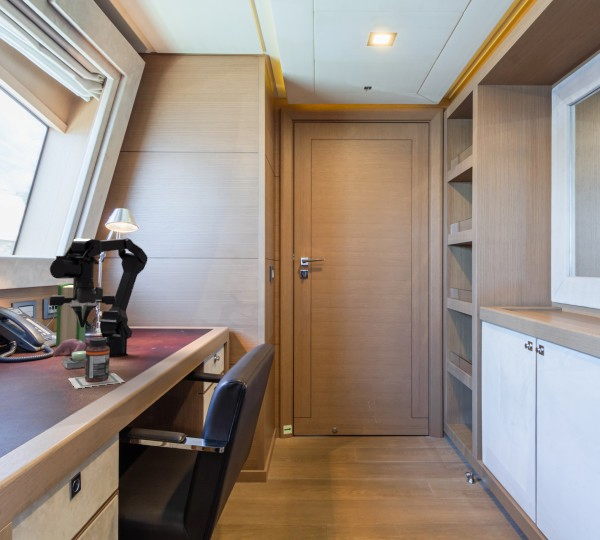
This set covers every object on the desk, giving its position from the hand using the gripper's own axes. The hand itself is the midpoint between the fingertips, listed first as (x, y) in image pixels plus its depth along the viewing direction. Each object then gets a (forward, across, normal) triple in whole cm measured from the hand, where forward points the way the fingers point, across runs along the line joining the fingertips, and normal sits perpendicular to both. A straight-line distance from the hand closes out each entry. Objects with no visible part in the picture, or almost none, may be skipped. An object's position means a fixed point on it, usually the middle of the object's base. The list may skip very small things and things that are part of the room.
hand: (82, 327), depth 132 cm
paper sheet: (+12, 0, -23) cm, 26 cm away
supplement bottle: (+12, 0, -23) cm, 26 cm away
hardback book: (+12, +2, +33) cm, 35 cm away
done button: (+10, 0, 0) cm, 10 cm away
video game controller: (+12, -1, +16) cm, 20 cm away
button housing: (+12, 0, 0) cm, 12 cm away
